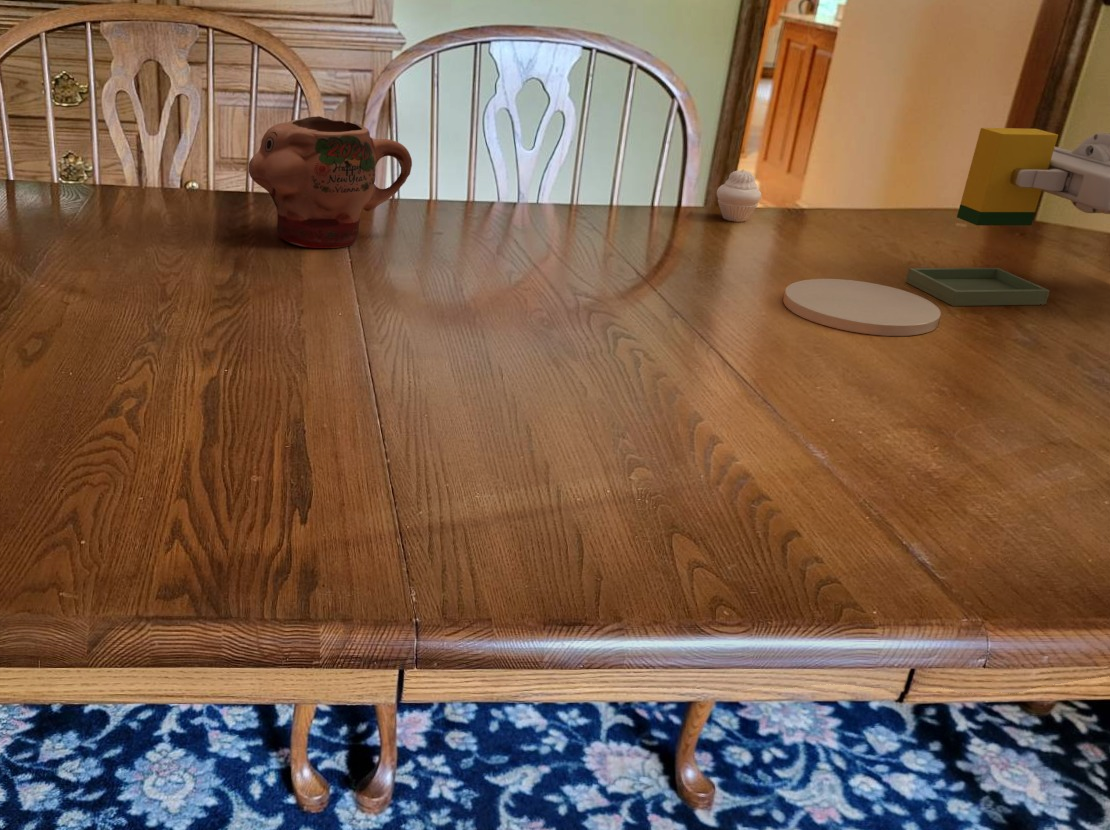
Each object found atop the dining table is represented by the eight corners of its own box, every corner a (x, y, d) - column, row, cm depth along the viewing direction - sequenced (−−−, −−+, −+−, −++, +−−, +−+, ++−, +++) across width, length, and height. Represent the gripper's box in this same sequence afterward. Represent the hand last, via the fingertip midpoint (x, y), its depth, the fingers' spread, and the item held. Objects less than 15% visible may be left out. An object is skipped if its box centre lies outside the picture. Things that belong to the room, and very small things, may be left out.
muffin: (766, 222, 155) (775, 172, 152) (735, 226, 152) (744, 175, 149) (733, 212, 160) (741, 163, 157) (703, 215, 157) (711, 166, 154)
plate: (932, 301, 125) (934, 291, 124) (944, 345, 111) (947, 334, 110) (785, 281, 129) (787, 271, 128) (780, 321, 115) (782, 310, 115)
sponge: (1010, 217, 127) (1035, 128, 123) (1031, 225, 124) (1058, 134, 119) (956, 217, 126) (980, 127, 121) (976, 225, 122) (1002, 133, 118)
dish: (994, 281, 133) (998, 267, 133) (1045, 304, 125) (1050, 290, 125) (905, 282, 131) (909, 268, 130) (952, 306, 123) (956, 291, 122)
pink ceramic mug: (387, 222, 145) (392, 113, 139) (423, 246, 135) (430, 130, 129) (238, 230, 137) (236, 115, 131) (265, 256, 127) (264, 133, 121)
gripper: (1052, 128, 133) (950, 126, 130) (1189, 164, 115) (1074, 162, 112) (1036, 181, 135) (936, 180, 133) (1168, 223, 117) (1055, 223, 115)
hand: (1000, 172), depth 122 cm, fingers closed on sponge, 3 cm apart
